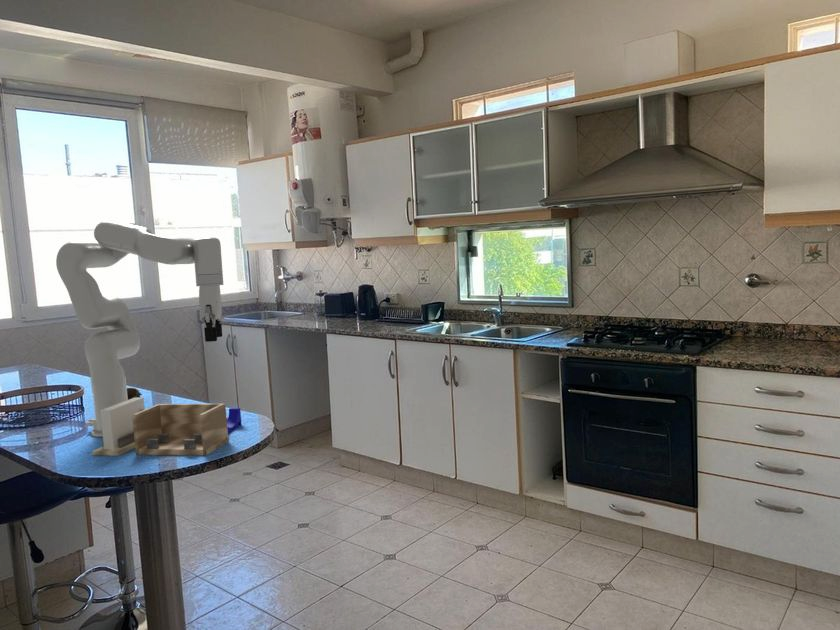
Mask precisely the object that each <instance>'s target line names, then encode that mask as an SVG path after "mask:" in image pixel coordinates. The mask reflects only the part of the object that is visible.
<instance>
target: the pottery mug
mask: <svg viewBox="0 0 840 630" xmlns="http://www.w3.org/2000/svg"><path fill="white" fill-rule="evenodd" d="M139 391H140V390H138V389H137V388H134V387H127V396H128V400H129V399H132V398H140V397H141V396H143V394H142V393H141V392H139Z"/></svg>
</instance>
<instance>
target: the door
mask: <svg viewBox="0 0 840 630" xmlns="http://www.w3.org/2000/svg"><path fill="white" fill-rule="evenodd" d="M145 409H146V408H145V399H144V397H141V396H140V398H132V399H129V400H127V401H124V402H121V403H119V404H116V405H113V406H110V407H108V408H105V409H102V410H100V414H101V423H102V433H103V437H102V443H103V442H104V445H103V446H104V449H116V448H118V447H119V442H118V439H119V438H121V437H124V436H126V435H128V434H130V433H132V432H134V430H133V420H132V415H133V414H136V413H138V412H140V411H143V410H145Z"/></svg>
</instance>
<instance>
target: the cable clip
mask: <svg viewBox="0 0 840 630" xmlns="http://www.w3.org/2000/svg"><path fill="white" fill-rule="evenodd" d="M226 418H227V429H228V434H230V433H232V432H233V431H235V430H236V429H238V428H239V427H240V426H242V413H241V407H230V408H228V416H226Z"/></svg>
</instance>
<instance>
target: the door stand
mask: <svg viewBox="0 0 840 630" xmlns="http://www.w3.org/2000/svg"><path fill="white" fill-rule="evenodd" d="M118 442H119V447H118V448H116V449H104V442H103V441H102V446H100V447H98V448H96V449H94V450H92V455H93V456H117V457H118V456H121V455H123V454H125V453H127V452H129V451H131V450H133V449H135V440H134V432H132V433H130V434H128V435H126V436H124V437H121V438H119V439H118Z"/></svg>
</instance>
